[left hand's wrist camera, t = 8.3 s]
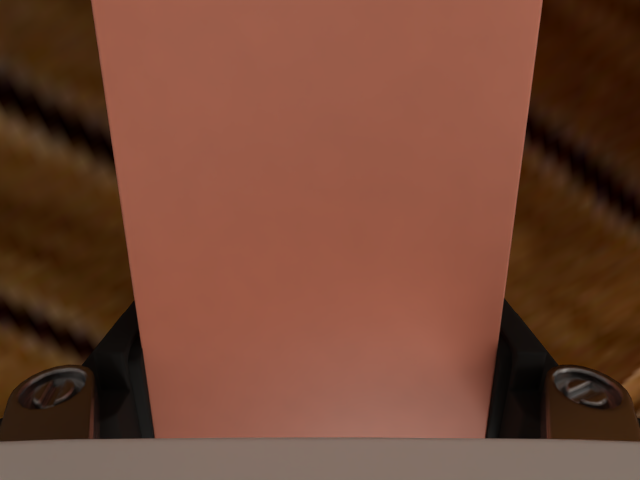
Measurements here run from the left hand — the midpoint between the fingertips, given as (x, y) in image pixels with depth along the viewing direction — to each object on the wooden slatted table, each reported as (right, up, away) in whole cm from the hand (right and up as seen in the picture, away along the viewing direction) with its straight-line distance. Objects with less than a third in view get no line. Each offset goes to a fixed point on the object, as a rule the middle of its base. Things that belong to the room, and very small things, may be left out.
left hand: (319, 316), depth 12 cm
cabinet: (0, +7, +4) cm, 8 cm away
